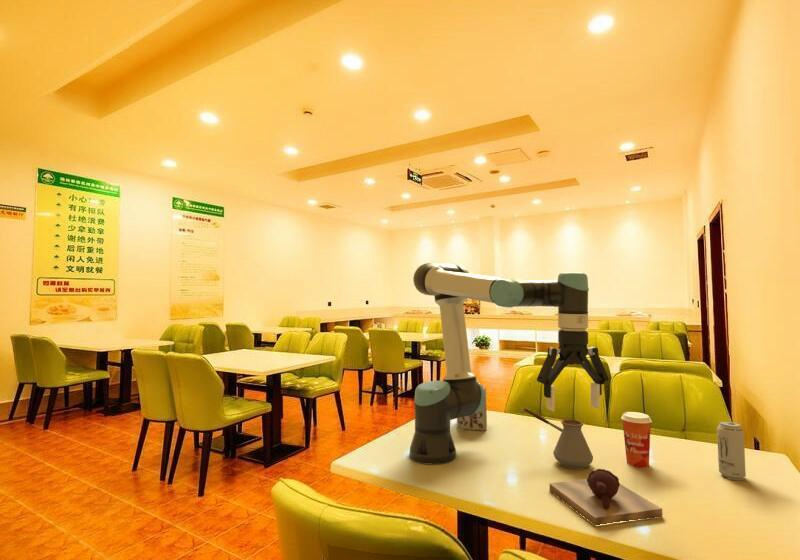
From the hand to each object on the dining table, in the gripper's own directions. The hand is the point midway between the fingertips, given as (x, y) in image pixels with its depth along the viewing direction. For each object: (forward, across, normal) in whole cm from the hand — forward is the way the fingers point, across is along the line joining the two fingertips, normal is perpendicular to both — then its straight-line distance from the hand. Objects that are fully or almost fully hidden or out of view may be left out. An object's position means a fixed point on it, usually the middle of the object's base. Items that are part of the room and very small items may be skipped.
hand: (573, 408), depth 111 cm
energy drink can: (+21, +50, -3) cm, 54 cm away
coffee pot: (+22, +8, +19) cm, 30 cm away
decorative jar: (+23, -5, +59) cm, 64 cm away
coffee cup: (+22, +31, +11) cm, 39 cm away
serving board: (+22, +3, -8) cm, 23 cm away
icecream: (+20, +2, -9) cm, 22 cm away
